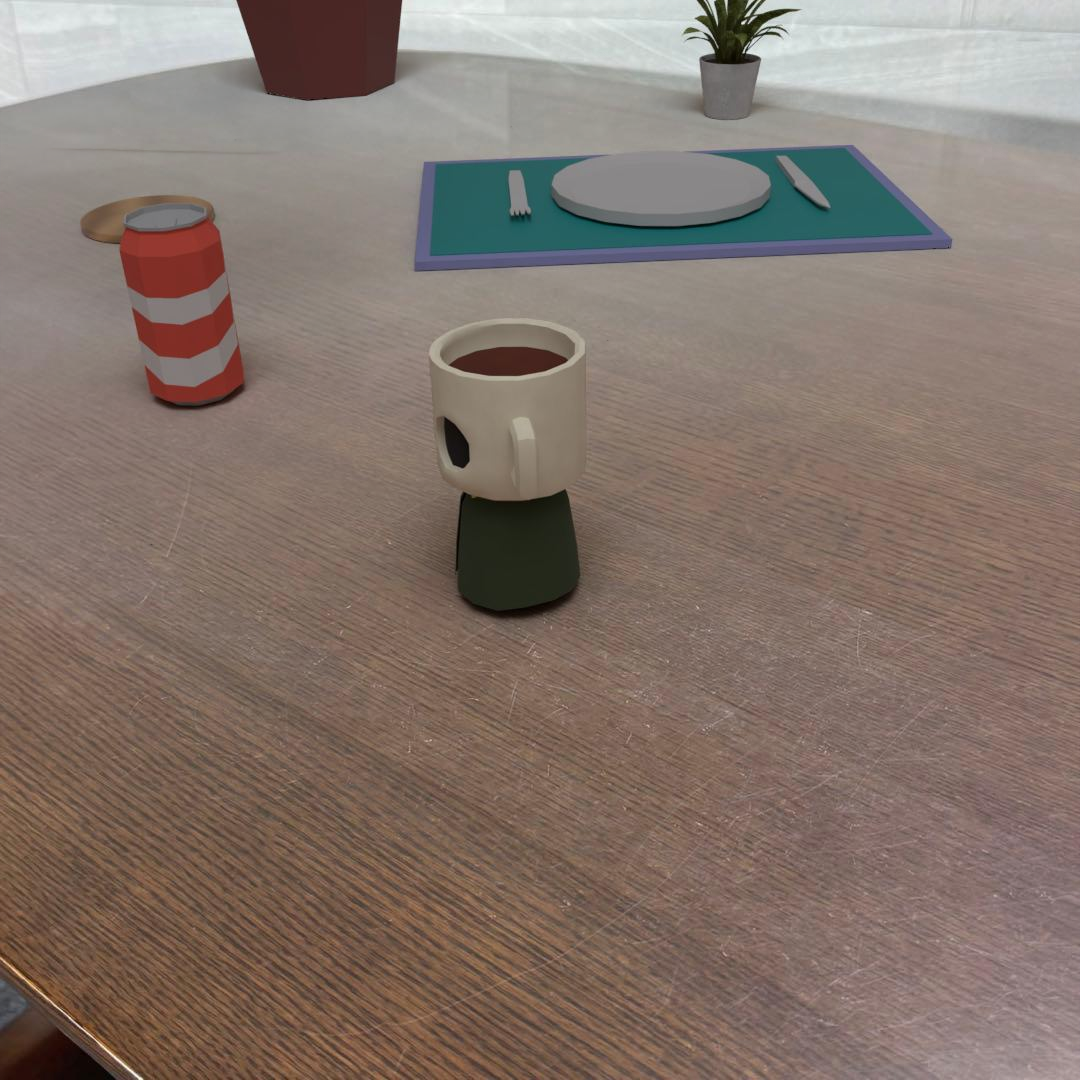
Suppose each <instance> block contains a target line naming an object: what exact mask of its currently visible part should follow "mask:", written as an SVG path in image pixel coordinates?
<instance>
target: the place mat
mask: <svg viewBox="0 0 1080 1080" xmlns="http://www.w3.org/2000/svg"><path fill="white" fill-rule="evenodd" d="M419 201H420V202H419V210H418V222H417V231H416V232H417V233H416V242H415V252H414V253H415V254H414V271H415V272H418V271H419V272H420V271H421V272H422V271H443V270H468V269H488V268H490V269H491V268H512V267H513V268H514V267H516V268H517V267H534V266H535V267H536V266H537V267H538V266H540V267H541V266H559V265H562V266H563V265H582V264H584V265H586V264H605V263H607V264H608V263H628V262H631V263H633V262H651V261H675V260H676V261H678V260H679V261H681V260H699V259H700V260H701V259H723V258H746V257H749V258H750V257H769V256H772V257H773V256H794V255H816V254H817V255H818V254H841V253H862V252H865V253H866V252H885V251H886V252H887V251H908V250H909V251H910V250H932V249H933V248H936V249H952V245H953V238H952V237H951V236H950V235H949V234H948V233H947V232H946V231H945V230H944V229H942V227H940V225H938V224H937V223H936V222H935V221H934V220H933V219H932V218H931V217H930V216H929V215H928V214H927V213H926V212H925V211H923V210H922V209H921V207H919V206H918V205H917V204H916V203H915V202H914V201H913V200H912V199H911V198H910V197H909V196H908V195H907V194H906V193H904V191H902V190H901V189H900V188H899V187H898V185H896V184H895V183H894V182H893V181H892V180H891V179H889V177H888V176H886V175H885V174H884V173H883V172H882V171H881V169H879V168H878V167H877V166H876V165H875V164H874V163H873V162H872V161H870V159H868V158H867V157H866V155H864V154H863V153H862V152H861V151H860V150H859V148H857V147H856V146H855V145H854V144H841V145H840V144H839V145H835V144H834V145H816V146H815V145H812V146H790V147H789V146H785V147H765V148H764V147H763V148H736V149H713V150H712V149H711V150H687V151H685V150H684V151H678V150H677V151H672V150H670V151H669V150H668V151H665V150H663V151H661V150H659V151H657V150H655V151H654V150H653V151H651V150H645V151H634V152H633V151H631V152H625V153H624V152H622V153H613V154H588V155H585V154H584V155H564V156H563V155H562V156H561V155H559V156H537V157H536V156H535V157H513V158H512V157H510V158H509V157H508V158H489V159H488V158H487V159H486V158H485V159H466V160H465V159H464V160H463V159H462V160H460V159H459V160H439V161H438V160H437V161H435V160H434V161H423V169H422V178H421V189H420V200H419ZM948 247H949V248H948Z"/></svg>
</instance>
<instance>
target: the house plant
mask: <svg viewBox="0 0 1080 1080" xmlns="http://www.w3.org/2000/svg"><path fill="white" fill-rule="evenodd" d="M749 1H750V0H727V4H726V0H713V5H714V8H715V13H716V17H715V14H714V11H713V7H712V6H711V3H710V2H709V0H696V2H697V3H698V4H699V6H700V7H701V9H703V11H704V12H705V15H703V14H701V15H698V16H695V17H694V20H695V21H697V22H699V23H701V24H702V25H703V26H705V27H706V28H707V29H708V31H709V33H710V34H709V33H707V32H704V31H702V30H700V29H698V28H696V27H691V26H689V27H687V28H685V30H684V31H683V33H682V35H681V37H683V36H684V35H686V34H693V33H700V32H701V33H703V35H704V36H705V37H706V38H705V37H701V36H689V37H688V38H686V39H685V40H684V42H683V43H685V42H687V41H690V40H694V39H699V40H700V39H701V40H704V41H707V42H708V43H709V44H710V45H711V47H712V50H713V52H714V53H713V52H712V53H707V54H704V55H701V56H700V57H699V59H698V60H699V70H700V79H701V89H702V90H701V91H702V100H703V101H702V102H703V109H704V115H705V117H707V118H711V119H715V120H727V121H728V120H740V119H745V118H747V117H749V115H750V112H751V107H752V103H753V99H754V94H755V91H756V90H755V89H756V86H757V81H758V76H759V72H760V68H761V63H762V57H760V56H758V55H756V54H753V53H747V52H749V50H750V49H751V48H752V47H753V46H755V44H756V43H757V42H758V41H759V40H760V39H761V38H763V37H764V36H777V37H779V38H781V39H782V40H783V41H785V40H784V38H783V36H782V35H781V33H779V32H778V31H777V32H776V31H770V30H771V29H776V30H780V31H783V32H784V33H786V34H787V35H789V32H788V31H787V30H786V29H785V28H784V27H781V24H776V25H769V26H765V27H763V25H765V24H766V23H768V22H769V21H771V20H773V19H776V18H779V17H781V16H783V15H786V14H788V13H794V12H796V13H797V12H799V11H803V9H801V8H778V9H772V10H768V11H765V12H763V13H756V12H757V11H758V9H759V8H760V7H761V6H762V5H763V4H764V3H765V2H766V1H767V0H760V1H759V0H753V1H752V2H751V3H750V4H749ZM758 1H759V2H758ZM756 3H757V4H756ZM748 4H749V5H748ZM753 7H754V8H753ZM750 11H751V12H750ZM749 12H750V14H749V15H748V16H747V14H748V13H749ZM716 19H717V20H716ZM751 19H752V20H751ZM743 22H744V23H743ZM762 27H763V28H762ZM765 30H766V31H765ZM763 31H765V32H763ZM711 35H712V36H711ZM757 38H758V39H757ZM755 39H756V41H754V42H753V40H755ZM752 42H753V43H752Z"/></svg>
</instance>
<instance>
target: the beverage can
mask: <svg viewBox="0 0 1080 1080" xmlns="http://www.w3.org/2000/svg"><path fill="white" fill-rule="evenodd" d="M123 225H124V227H125V230H124V233H123V236H122V239H121V243H119V249H118V252H119V256H120V260H121V265H122V269H123V270H122V271H123V273H124V274H123V275H124V278H125V283H126V289H127V292H128V297H129V301H130V305H131V310H132V316H133V320H134V323H135V329H136V332H137V338H138V342H139V346H140V351H141V356H142V359H143V360H142V361H143V365H144V369H145V374H146V379H147V383H148V388H149V393H150V394H151V395H154V396H156V397H157V398H160V399H162V400H164V401H167V402H170V403H172V404H175V405H177V406H191V407H192V406H193V407H195V406H199V407H200V406H204V405H208V404H211V403H215V402H218V401H222V400H223V399H225V398H227V397H228V396H229V395H230V394H232V393H233V392H234V391H235V389H237V388H238V387H240V386H241V385H242V384H244V383H245V373H244V365H243V361H242V360H243V359H242V356H241V355H242V353H241V348H240V341H239V336H238V331H237V325H236V319H235V314H234V308H233V303H232V302H233V301H232V295H231V290H230V285H229V279H228V278H229V277H228V273H227V267H226V261H225V254H224V249H223V243H222V237H221V232H220V230H219V228H218V227H217V226H216V225H215V223H214V221H211V220H210V219H209V217H208V216H207V209H206V207H203V206H200V205H196V204H193V203H163V204H158V205H152V206H147V207H141V208H139V209H137V210H134V211H132V212H130V213H128V214H126V215H124V220H123Z"/></svg>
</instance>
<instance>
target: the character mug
mask: <svg viewBox="0 0 1080 1080" xmlns="http://www.w3.org/2000/svg"><path fill="white" fill-rule="evenodd" d="M586 348H587V347H586V340H585V339H584V338H583V337H582V336H581V335H580V334H578V332H576V331H575V330H574V329H572V328H570V327H567V326H564V325H562V324H559V323H556V322H553V321H547V320H541V319H536V318H529V317H524V318H523V317H512V318H511V317H508V318H507V317H503V318H502V317H501V318H500V317H499V318H493V319H486V320H481V321H480V320H479V321H475V322H470V323H467V324H464V325H461V326H458V327H456V328H453V329H450V330H448V331H446V332H445V333H444V334H442V335H440V336H439V337H438V338H436V339H435V340H433V342H432V343H431V345H430V347H429V351H428V362H429V363H428V364H429V375H430V387H431V388H430V390H431V399H432V416H433V418H432V419H433V422H432V423H433V433H434V439H435V440H434V441H435V448H436V449H435V450H436V462H437V467H438V469H439V473H440V476H441V478H442V480H443V481H444V482H445V483H447V484H448V485H449V486H451V487H452V488H454V489H457V490H458V491H461V494H460V497H459V507H458V518H457V529H456V538H455V565H454V567H455V568H454V575H455V576H457V591H458V592H459V593H460V594H461V595H462V596H464V597H465V598H466V599H467V600H468V601H469V602H471V603H472V604H474V605H477V606H480V607H484V608H486V609H490V610H494V611H497V612H501V611H509V610H516V609H523V608H528V607H532V606H536V605H540V604H544V603H549V602H553V601H555V600H557V599H559V598H561V597H562V596H565V595H566V594H568V593H569V592H571V591H573V590H574V588H575V587H576V585H577V583H578V581H579V579H580V578H581V570H580V568H581V567H580V560H579V559H580V558H579V552H578V542H577V537H576V531H575V526H574V520H573V514H572V513H573V512H572V508H571V503H570V502H571V501H570V497H569V493H568V491H567V489H569V488H571V487H573V486H574V485H575V484H576V483H577V482H578V480H579V479H580V478H581V477H582V476H583V475H584V474H585V471H586V466H587V349H586Z"/></svg>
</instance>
